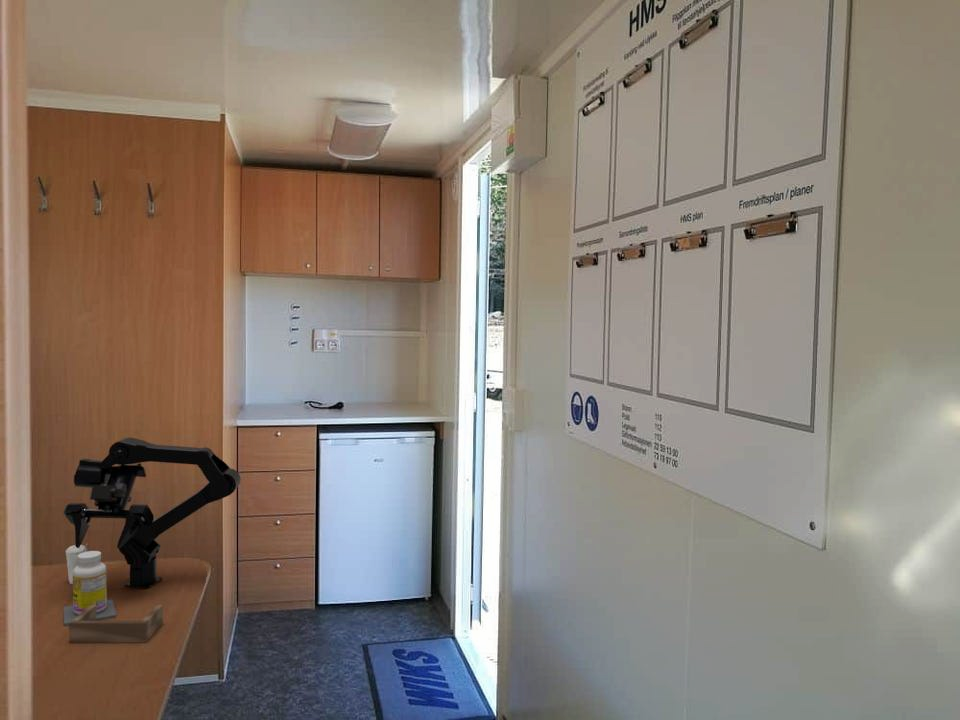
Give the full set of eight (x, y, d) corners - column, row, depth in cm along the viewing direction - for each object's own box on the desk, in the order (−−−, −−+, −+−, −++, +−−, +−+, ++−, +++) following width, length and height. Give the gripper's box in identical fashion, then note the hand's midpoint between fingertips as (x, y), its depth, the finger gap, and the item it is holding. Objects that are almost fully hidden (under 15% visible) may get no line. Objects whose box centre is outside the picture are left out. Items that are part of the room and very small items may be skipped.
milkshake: (80, 586, 179) (80, 546, 178) (61, 584, 180) (61, 544, 179) (94, 579, 183) (93, 540, 182) (75, 577, 184) (74, 538, 184)
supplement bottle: (75, 606, 165) (74, 551, 165) (107, 602, 168) (107, 547, 167) (71, 618, 159) (70, 560, 158) (105, 614, 162) (104, 557, 161)
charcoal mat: (63, 609, 165) (63, 606, 165) (112, 601, 170) (112, 599, 170) (64, 625, 157) (63, 623, 157) (116, 617, 162) (116, 614, 162)
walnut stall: (90, 623, 158) (90, 605, 158) (162, 623, 159) (162, 605, 159) (69, 642, 149) (69, 623, 149) (145, 642, 150) (145, 623, 150)
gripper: (67, 469, 171) (42, 529, 160) (149, 471, 172) (129, 531, 162) (83, 494, 179) (60, 553, 169) (161, 495, 180) (143, 554, 170)
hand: (97, 547), depth 167 cm, fingers open, 9 cm apart
